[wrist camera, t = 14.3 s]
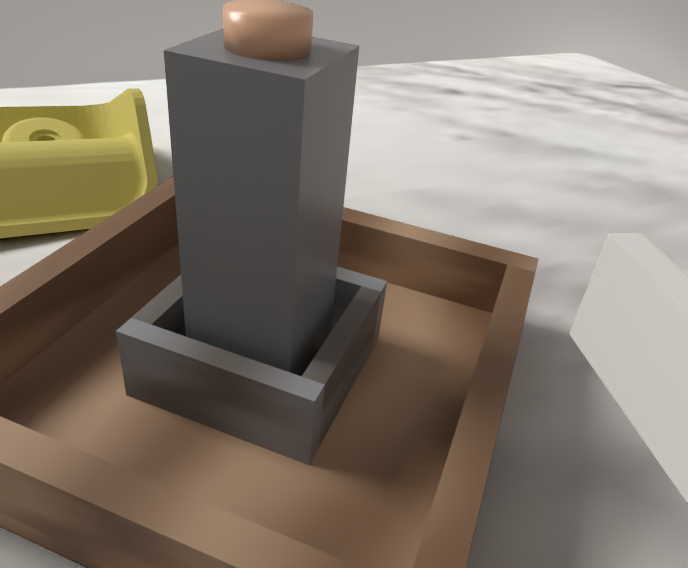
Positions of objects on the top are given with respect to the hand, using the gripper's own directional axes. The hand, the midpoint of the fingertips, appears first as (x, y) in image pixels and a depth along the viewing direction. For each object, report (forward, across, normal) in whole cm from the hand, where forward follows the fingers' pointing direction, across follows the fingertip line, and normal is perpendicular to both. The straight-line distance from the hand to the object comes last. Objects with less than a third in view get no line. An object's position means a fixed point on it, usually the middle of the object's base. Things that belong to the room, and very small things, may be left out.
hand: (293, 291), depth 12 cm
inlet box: (+8, 0, -10) cm, 13 cm away
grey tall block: (+8, 0, -9) cm, 12 cm away
